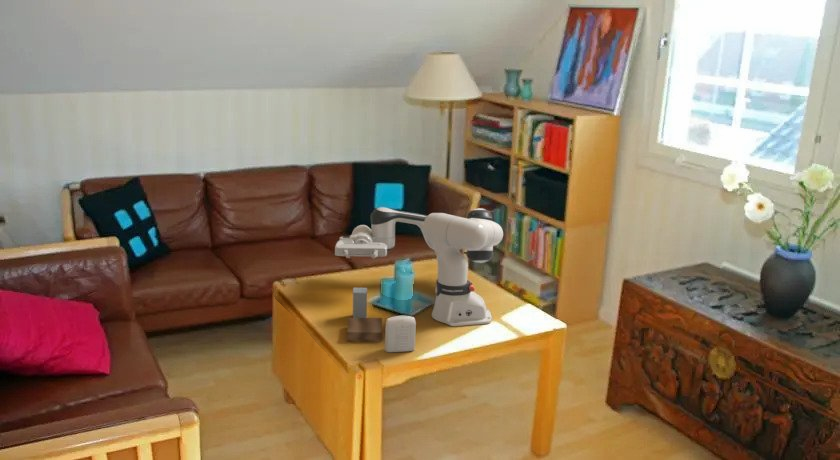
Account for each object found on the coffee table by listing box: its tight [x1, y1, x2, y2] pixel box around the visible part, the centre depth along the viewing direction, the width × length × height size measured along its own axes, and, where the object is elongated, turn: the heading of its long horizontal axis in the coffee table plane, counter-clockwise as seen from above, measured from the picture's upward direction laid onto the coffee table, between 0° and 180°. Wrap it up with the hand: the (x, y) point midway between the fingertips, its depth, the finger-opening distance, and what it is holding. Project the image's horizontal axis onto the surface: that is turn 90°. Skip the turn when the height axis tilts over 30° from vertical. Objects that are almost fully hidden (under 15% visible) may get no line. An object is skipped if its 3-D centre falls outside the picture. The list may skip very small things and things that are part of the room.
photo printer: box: [384, 315, 417, 353], centre depth 244 cm, size 10×4×12 cm, turn 103°
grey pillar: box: [352, 287, 368, 318], centre depth 268 cm, size 5×5×11 cm
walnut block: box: [346, 317, 383, 343], centre depth 256 cm, size 12×12×4 cm
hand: (360, 256), depth 276 cm, fingers open, 8 cm apart
